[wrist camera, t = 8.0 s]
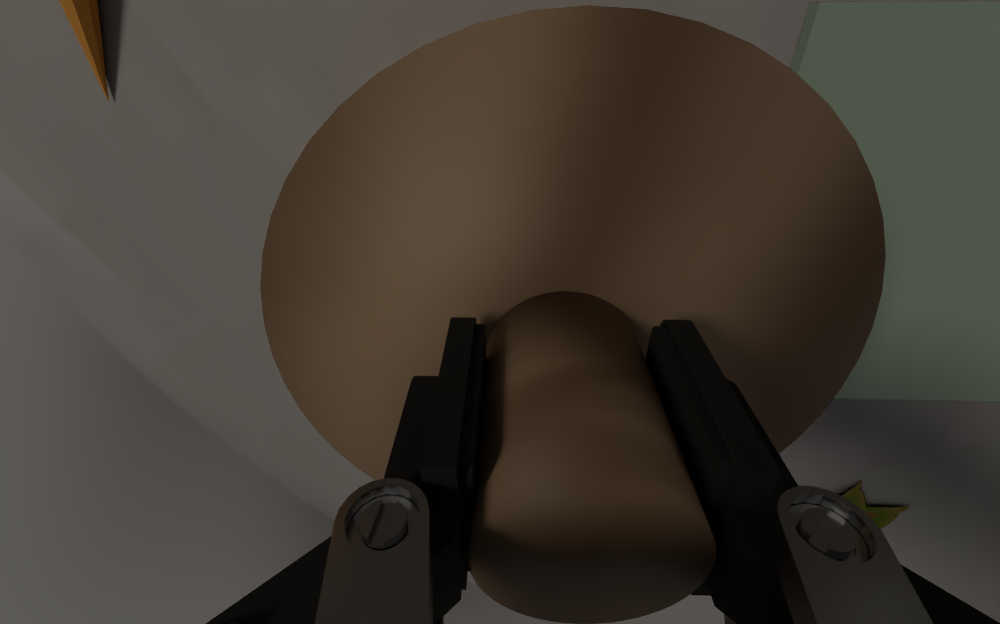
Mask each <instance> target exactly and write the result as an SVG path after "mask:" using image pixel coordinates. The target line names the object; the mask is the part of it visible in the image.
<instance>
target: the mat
mask: <svg viewBox="0 0 1000 624" xmlns="http://www.w3.org/2000/svg"><path fill="white" fill-rule="evenodd" d="M791 69H792V70H793V71H794V72H796V73H797V74H798V75H799V76H800V77H801V78H802V79H803V80H804V81H805V82H806V83H807V84H808V85H809V86H810V87H812V88H813V89H814V90H815V91H816V92H817V93H818V94H819V95H820V96H821V97H822V98H823V99H824V100H825V101H826V102H827V103H829V105H830V106H831V107H832V109H833V110H834V112H835V113H836V114H837V116H838V117H839V118H840V120H841V121H842V123H843V124H844V125H845V127H846V128H847V130H848V131H849V132H850V134H851V135H852V136H853V138H854V139H855V141H856V143H857V145H858V147H859V149H860V151H861V153H862V156H863V158H864V160H865V162H866V164H867V166H868V168H869V171H870V173H871V175H872V177H873V180H874V183H875V187H876V191H877V195H878V199H879V203H880V207H881V211H882V215H883V222H884V236H885V251H886V259H885V269H884V278H883V288H882V294H881V298H880V302H879V306H878V309H877V313H876V317H875V321H874V324H873V328H872V330H871V332H870V335H869V337H868V339H867V342H866V344H865V346H864V348H863V351H862V353H861V355H860V358H859V360H858V361H857V363H856V365H855V366H854V368H853V370H852V371H851V373H850V375H849V376H848V378H847V380H846V381H845V383H844V385H843V386H842V388H841V389H840V391H839V392H838V393H837V394H836V396H835V397H834V398H833V399H873V400H927V401H981V402H1000V2H814V3H810V7H809V10H808V13H807V17H806V20H805V23H804V27H803V30H802V33H801V37H800V40H799V43H798V46H797V50H796V53H795V56H794V60H793V63H792V66H791Z"/></svg>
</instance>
